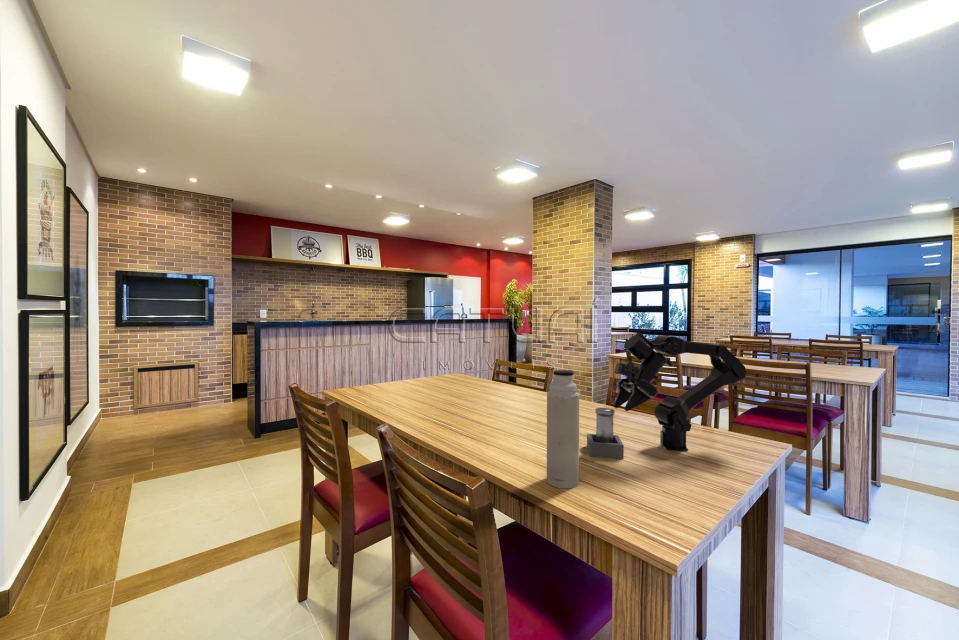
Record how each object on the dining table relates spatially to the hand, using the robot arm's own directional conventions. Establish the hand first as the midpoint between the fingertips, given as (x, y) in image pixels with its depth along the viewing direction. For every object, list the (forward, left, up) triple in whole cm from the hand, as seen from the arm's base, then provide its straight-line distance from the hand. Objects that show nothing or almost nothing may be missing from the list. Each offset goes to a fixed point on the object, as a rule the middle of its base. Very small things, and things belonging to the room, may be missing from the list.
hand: (619, 408), depth 118 cm
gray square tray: (+5, +2, -13) cm, 14 cm away
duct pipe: (+5, +2, -13) cm, 14 cm away
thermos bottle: (+18, +25, -13) cm, 34 cm away
